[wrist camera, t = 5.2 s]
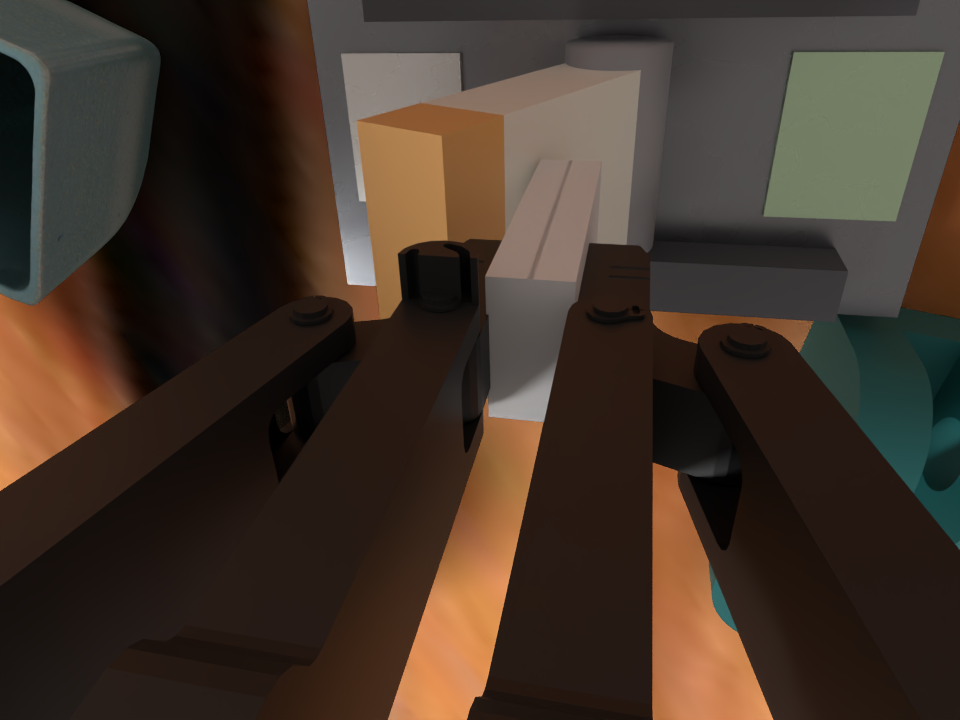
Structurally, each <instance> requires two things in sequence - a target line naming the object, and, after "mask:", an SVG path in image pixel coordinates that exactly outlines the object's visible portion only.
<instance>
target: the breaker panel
mask: <svg viewBox="0 0 960 720" xmlns="http://www.w3.org/2000/svg"><path fill="white" fill-rule="evenodd" d="M307 2H308V9H309V16H310V23H311V30H312V37H313V44H314V51H315V58H316V65H317V72H318V79H319V86H320V93H321V100H322V107H323V114H324V121H325V128H326V135H327V142H328V149H329V156H330V163H331V170H332V177H333V184H334V191H335V198H336V205H337V212H338V219H339V226H340V233H341V241H342V248H343V255H344V262H345V269H346V276H347V283H348V284H351V285H368V286H376V280H375V272H374V264H373V255H372V247H371V239H370V230H369V222H368V213H367V205H366V197H365V188H364V180H363V172H362V163H361V155H360V146H359V138H358V130H357V120H361V119H364V118H368V117H371V116H375V115H379V114H382V113H386V112H390V111H393V110H397V109H400V108H404V107H408V106H411V105H415V104H419V103H422V102H426V101H429V100H433V99H437V98H440V97H444V96H448V95H451V94H455V93H458V92H462V91H466V90H469V89H473V88H477V87H480V86H484V85H487V84H491V83H495V82H498V81H502V80H506V79H509V78H513V77H516V76H520V75H524V74H527V73H531V72H535V71H538V70H542V69H545V68H549V67H553V66H556V65H560V64H564V63H565V49H566V42H568V41H570V40H573V39H578V38H585V37H594V36H611V35H636V36H652V37H660V38H666V39H669V40H672V41H673V42H674V46H673V56H672V66H671V75H670V85H669V95H668V104H667V114H666V124H665V133H664V143H663V153H662V162H661V172H660V182H659V191H658V201H657V211H656V220H655V230H654V240H653V241H669V242H691V243H713V244H736V245H758V246H780V247H802V248H825V249H836V250H837V252H838V254H839V256H840V257H841V259H842V261H843V263H844V264H845V266H846V268H847V270H848V271H849V272H848V275H847V279H846V283H845V287H844V291H843V294H842V298H841V302H840V306H839V309H838V313H837V314H846V315H862V316H879V317H895V318H897V317H898V314H899V311H900V308H901V305H902V302H903V298H904V295H905V292H906V289H907V286H908V283H909V279H910V276H911V273H912V270H913V267H914V263H915V260H916V257H917V254H918V251H919V248H920V244H921V241H922V238H923V235H924V232H925V229H926V225H927V222H928V219H929V216H930V213H931V209H932V206H933V203H934V200H935V197H936V194H937V190H938V187H939V184H940V181H941V178H942V175H943V171H944V168H945V165H946V162H947V159H948V156H949V152H950V149H951V146H952V143H953V140H954V136H955V133H956V130H957V127H958V124H959V121H960V0H920V2H919V6H918V10H917V14H916V16H846V17H759V18H672V19H584V20H497V21H410V22H364V16H363V6H362V0H307Z"/></svg>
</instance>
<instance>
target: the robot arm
mask: <svg viewBox="0 0 960 720" xmlns="http://www.w3.org/2000/svg"><path fill="white" fill-rule="evenodd" d="M601 169H602V161H581V160H547V159H541V160H540V162H539V164H538V166H537V168H536V170H535V172H534V175H533V177H532V179H531V181H530V183H529V185H528V187H527V189H526V191H525V193H524V196H523V198H522V200H521V202H520V204H519V206H518V208H517V210H516V212H515V215H514V217H513V219H512V221H511V223H510V225H509V227H508V229H507V231H506V233H505V236H504V238H503V240H485V239H469V240H467V241H465V242H464V243H462V242H455V241H448V240H444V241H428V242H422V243H417V244H414V245H411V246H409V247H406V248H404V249H403V250H402V251H400V252H399V253H398V263H399V274H400V284H401V295H402V300H401V302H400V303H399V305H398V306H397V308H396V309H395V311H394V312H393V314H392V315H391V317H390V318H387V319H380V320H370V321H360V322H354V317H353V310H352V307H351V306H350V305H349V304H348V303H347V302H346V301H343V300H340V299H338V298H332V297H325V296H315V297H313V296H309V297H304V298H303V299H300V300H297V301H293V302H290V303H288V304H286V305H284V306H282V307H280V308H278V309H277V310H275V311H274V312H272V313H271V314H269V315H268V316H266V317H265V318H263V319H262V320H260V321H259V322H257V323H255V324H254V325H252V326H251V327H249V328H248V329H246V330H245V331H243V332H242V333H240V334H239V335H237V336H236V337H234V338H233V339H231V340H230V341H228V342H227V343H225V344H224V345H222V346H220V347H219V348H217V349H216V350H214V351H213V352H211V353H210V354H208V355H207V356H205V357H204V358H202V359H201V360H199V361H198V362H196V363H195V364H193V365H192V366H190V367H188V368H187V369H185V370H184V371H182V372H181V373H179V374H178V375H176V376H175V377H173V378H172V379H170V380H169V381H167V382H166V383H164V384H163V385H161V386H160V387H158V388H156V389H155V390H153V391H152V392H150V393H149V394H147V395H146V396H144V397H143V398H141V399H140V400H138V401H137V402H135V403H134V404H132V405H131V406H129V407H128V408H126V409H125V410H123V411H121V412H120V413H118V414H117V415H115V416H114V417H112V418H111V419H109V420H108V421H106V422H105V423H103V424H102V425H100V426H99V427H97V428H96V429H94V430H93V431H91V432H89V433H88V434H86V435H85V436H83V437H82V438H80V439H79V440H77V441H76V442H74V443H73V444H71V445H70V446H68V447H67V448H65V449H64V450H62V451H61V452H59V453H58V454H56V455H54V456H53V457H51V458H50V459H48V460H47V461H45V462H44V463H42V464H41V465H39V466H38V467H36V468H35V469H33V470H32V471H30V472H29V473H27V474H26V475H24V476H22V477H21V478H19V479H18V480H16V481H15V482H13V483H12V484H10V485H9V486H7V487H6V488H4V489H3V490H1V491H0V720H388V717H389V714H390V711H391V708H392V705H393V702H394V699H395V696H396V693H397V690H398V687H399V684H400V681H401V678H402V675H403V672H404V669H405V666H406V663H407V660H408V657H409V654H410V651H411V648H412V645H413V642H414V639H415V636H416V633H417V630H418V627H419V624H420V621H421V618H422V615H423V612H424V609H425V606H426V603H427V600H428V597H429V594H430V591H431V588H432V585H433V582H434V579H435V576H436V573H437V570H438V567H439V564H440V561H441V558H442V555H443V552H444V549H445V546H446V543H447V540H448V537H449V535H450V532H451V529H452V526H453V523H454V520H455V517H456V514H457V511H458V508H459V505H460V502H461V499H462V496H463V493H464V490H465V487H466V484H467V481H468V478H469V475H470V472H471V469H472V466H473V463H474V460H475V457H476V454H477V451H478V448H479V445H480V442H481V439H482V436H483V407H484V404H485V401H486V398H487V396H488V405H489V417H497V418H507V419H517V420H527V421H537V422H544V424H543V428H542V433H541V437H540V442H539V447H538V451H537V456H536V460H535V465H534V469H533V474H532V479H531V483H530V488H529V492H528V497H527V502H526V506H525V511H524V515H523V520H522V524H521V529H520V534H519V538H518V543H517V547H516V552H515V557H514V561H513V566H512V570H511V575H510V579H509V584H508V589H507V593H506V598H505V602H504V607H503V611H502V616H501V621H500V625H499V630H498V634H497V639H496V644H495V648H494V653H493V657H492V662H491V666H490V671H489V676H488V680H487V683H486V687H485V690H484V693H483V695H482V696H481V697H475V699H474V702H473V704H472V706H471V708H470V711H469V715H468V718H467V720H653V717H652V500H653V463H656V464H659V465H662V466H665V467H668V468H671V469H674V470H677V471H678V475H677V476H678V485H679V488H680V491H681V493H682V496H683V498H684V501H685V503H686V506H687V508H688V510H689V513H690V515H691V518H692V520H693V523H694V525H695V528H696V530H697V533H698V535H699V537H700V540H701V542H702V545H703V547H704V550H705V552H706V555H707V557H708V560H709V562H710V565H711V567H712V569H713V572H714V574H715V577H716V579H717V582H718V584H719V587H720V589H721V592H722V594H723V597H724V599H725V601H726V604H727V606H728V609H729V611H730V614H731V616H732V619H733V621H734V624H735V626H736V628H737V631H738V633H739V636H740V638H741V641H742V643H743V646H744V648H745V651H746V653H747V656H748V658H749V660H750V663H751V665H752V668H753V670H754V673H755V675H756V678H757V680H758V683H759V685H760V688H761V690H762V692H763V695H764V697H765V700H766V702H767V705H768V707H769V710H770V712H771V715H772V717H773V719H774V720H960V549H959V548H958V547H957V546H956V544H955V543H954V542H953V541H952V540H951V538H950V537H949V536H948V535H947V533H946V532H945V531H944V530H943V529H942V527H941V526H940V525H939V524H938V522H937V521H936V520H935V519H934V518H933V516H932V515H931V514H930V513H929V511H928V510H927V509H926V508H925V507H924V505H923V504H922V503H921V502H920V500H919V499H918V498H917V497H916V496H915V494H914V493H913V492H912V491H911V489H910V488H909V487H908V486H907V484H906V483H905V482H904V481H903V480H902V478H901V477H900V476H899V475H898V473H897V472H896V471H895V470H894V469H893V467H892V466H891V465H890V464H889V462H888V461H887V460H886V459H885V458H884V456H883V455H882V454H881V453H880V451H879V450H878V449H877V448H876V447H875V445H874V444H873V443H872V442H871V440H870V439H869V438H868V437H867V436H866V434H865V433H864V432H863V431H862V429H861V428H860V427H859V426H858V425H857V423H856V422H855V421H854V420H853V418H852V417H851V416H850V415H849V413H848V412H847V411H846V410H845V409H844V407H843V406H842V405H841V404H840V402H839V401H838V400H837V399H836V398H835V396H834V395H833V394H832V393H831V391H830V390H829V389H828V388H827V387H826V385H825V384H824V383H823V382H822V380H821V379H820V378H819V377H818V376H817V374H816V373H815V372H814V371H813V369H812V368H811V367H810V366H809V365H808V363H807V362H806V361H805V360H804V358H803V357H802V356H801V355H800V354H799V352H798V351H797V350H796V349H795V347H794V346H793V345H792V344H791V343H790V342H789V341H788V340H787V339H785V338H784V337H783V336H782V335H780V334H778V333H775V332H773V331H771V330H769V329H766V328H765V327H762V326H759V325H755V326H754V325H753V324H749V323H741V324H734V323H729V324H722V325H716V326H713V327H711V328H709V329H707V330H704V331H703V333H702V334H701V335H700V337H699V338H698V344H696V343H692V342H688V341H684V340H681V339H678V338H675V337H672V336H670V335H668V334H666V333H664V332H663V331H661V330H660V329H658V328H657V327H656V326H655V325H654V324H653V316H652V314H651V311H650V256H649V255H648V254H647V252H646V251H645V250H644V249H643V248H642V247H641V246H638V245H619V244H599V243H597V234H598V217H599V201H600V185H601ZM285 401H287V404H288V408H289V413H290V418H291V421H290V422H289V423H288V424H287V425H285V426H284V427H283V428H281V429H279V427H278V425H277V422H276V417H275V412H276V410H277V409H278V408H279V407H280V406H281V405H282V404H283V403H284V402H285Z"/></svg>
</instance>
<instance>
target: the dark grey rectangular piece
mask: <svg viewBox="0 0 960 720" xmlns="http://www.w3.org/2000/svg"><path fill="white" fill-rule="evenodd" d="M919 2H920V0H362V6H363V16H364V22H410V21H497V20H584V19H672V18H759V17H846V16H916V14H917V10H918V6H919ZM647 254H648V255H649V256H650V311H664V312H680V313H696V314H712V315H728V316H744V317H760V318H776V319H792V320H808V321H823V322H835V321H836V317H837V313H838V309H839V306H840V302H841V298H842V294H843V291H844V287H845V283H846V279H847V275H848V272H849V271H848V270H847V268H846V266H845V264H844V263H843V261H842V259H841V257H840V256H839V254H838V252H837V250H836V249H825V248H802V247H780V246H758V245H736V244H713V243H691V242H669V241H653V247H652V249H651V250H650V251H649V252H648V253H647Z"/></svg>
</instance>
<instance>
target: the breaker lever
mask: <svg viewBox="0 0 960 720" xmlns="http://www.w3.org/2000/svg"><path fill="white" fill-rule="evenodd" d="M673 46H674V42H673V41H672V40H669V39H666V38H660V37H652V36H636V35H611V36H594V37H585V38H578V39H573V40H570V41H568V42H566V49H565V63H564V64H560V65H556V66H553V67H549V68H545V69H542V70H538V71H535V72H531V73H527V74H524V75H520V76H516V77H513V78H509V79H506V80H502V81H498V82H495V83H491V84H487V85H484V86H480V87H477V88H473V89H469V90H466V91H462V92H458V93H455V94H451V95H448V96H444V97H440V98H437V99H433V100H429V101H426V102H422V103H419V104H415V105H411V106H408V107H404V108H400V109H397V110H393V111H390V112H386V113H382V114H379V115H375V116H371V117H368V118H364V119H361V120H357V130H358V138H359V146H360V155H361V163H362V172H363V180H364V188H365V197H366V205H367V213H368V222H369V230H370V239H371V247H372V255H373V264H374V272H375V280H376V289H377V297H378V306H379V314H380V319H387V318H390V317H391V315H392V314H393V312H394V311H395V309H396V308H397V306H398V305H399V303H400V302H401V300H402V295H401V284H400V274H399V263H398V253H399V252H400V251H402V250H403V249H404V248H406V247H409V246H411V245H414V244H417V243H422V242H428V241H444V240H448V241H455V242H462V243H464V242H465V241H467V240H469V239H485V240H503V238H504V236H505V233H506V231H507V229H508V227H509V225H510V223H511V221H512V219H513V217H514V215H515V212H516V210H517V208H518V206H519V204H520V202H521V200H522V198H523V196H524V193H525V191H526V189H527V187H528V185H529V183H530V181H531V179H532V177H533V175H534V172H535V170H536V168H537V166H538V164H539V162H540V160H541V159H547V160H581V161H602V169H601V185H600V201H599V217H598V234H597V243H599V244H619V245H638V246H641V247H642V248H643V249H644V250H645V251H646V252H647V253H648V252H649V251H650V250H651V249H652V247H653V240H654V230H655V220H656V211H657V201H658V191H659V182H660V172H661V162H662V153H663V143H664V133H665V124H666V114H667V104H668V95H669V85H670V75H671V66H672V56H673Z"/></svg>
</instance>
